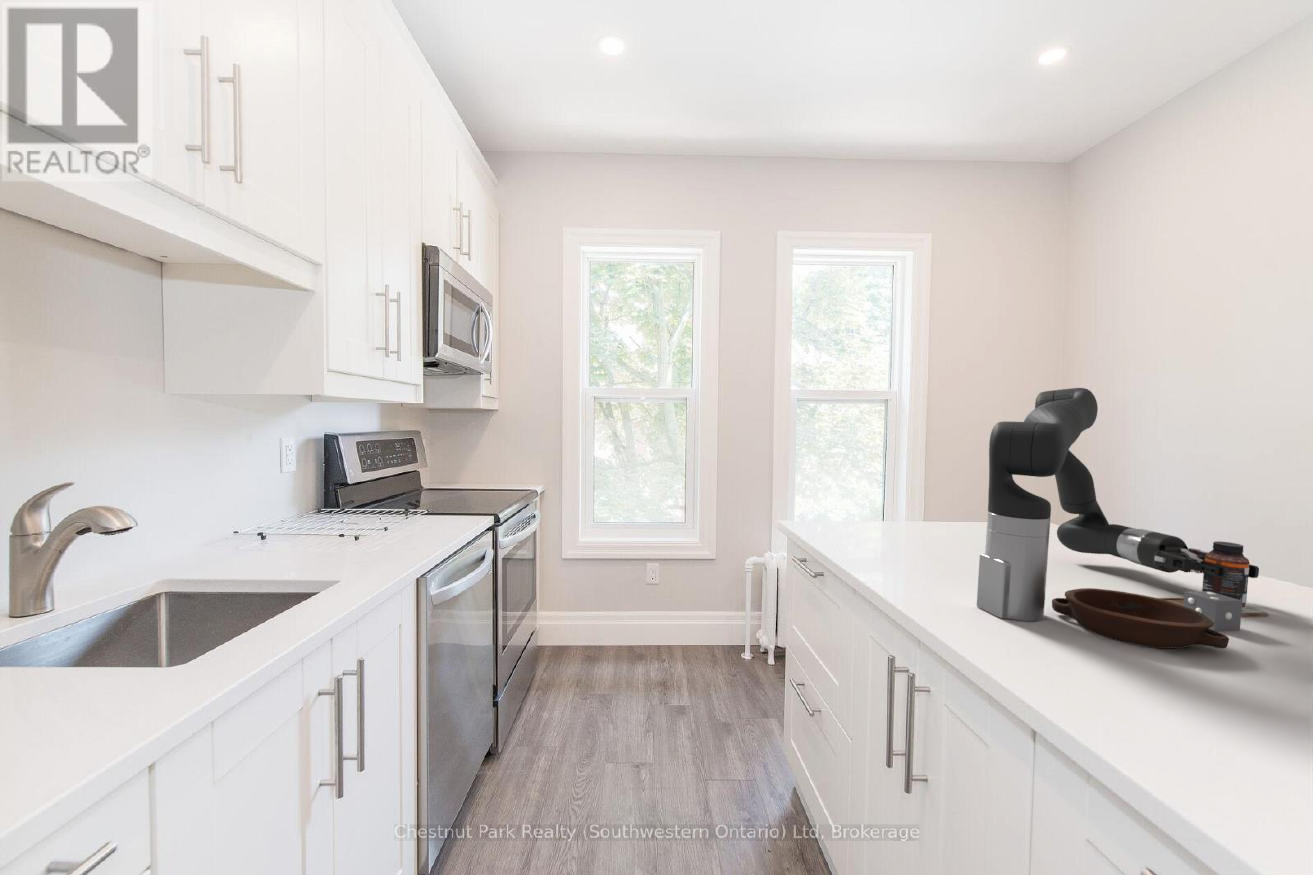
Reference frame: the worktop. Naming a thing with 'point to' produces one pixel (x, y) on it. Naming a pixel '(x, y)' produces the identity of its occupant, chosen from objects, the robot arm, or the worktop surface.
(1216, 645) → the dish
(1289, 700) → the worktop surface
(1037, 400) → the robot arm
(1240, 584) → the supplement bottle
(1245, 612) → the board
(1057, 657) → the worktop surface
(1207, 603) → the die
